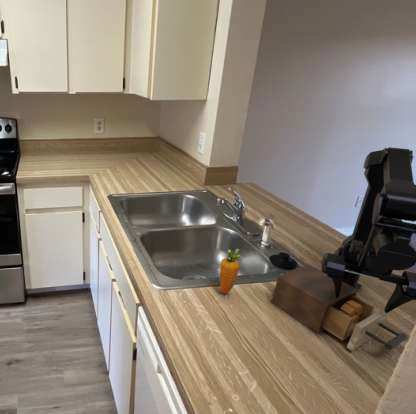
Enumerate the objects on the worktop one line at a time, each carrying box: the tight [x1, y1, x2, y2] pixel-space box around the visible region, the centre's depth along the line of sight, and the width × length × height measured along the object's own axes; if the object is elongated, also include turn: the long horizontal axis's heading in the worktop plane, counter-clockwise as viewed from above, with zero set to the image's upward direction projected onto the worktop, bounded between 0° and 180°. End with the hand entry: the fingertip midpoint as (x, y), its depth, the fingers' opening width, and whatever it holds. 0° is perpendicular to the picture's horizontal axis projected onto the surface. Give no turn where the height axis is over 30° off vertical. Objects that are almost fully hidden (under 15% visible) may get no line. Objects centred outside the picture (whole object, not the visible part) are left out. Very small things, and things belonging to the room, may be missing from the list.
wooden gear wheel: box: [340, 300, 363, 325], centre depth 80 cm, size 6×6×2 cm
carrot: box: [219, 248, 242, 295], centre depth 92 cm, size 5×5×15 cm
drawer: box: [322, 295, 408, 352], centre depth 78 cm, size 17×12×7 cm
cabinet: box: [270, 263, 359, 334], centre depth 87 cm, size 13×13×9 cm
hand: (360, 304), depth 77 cm, fingers open, 9 cm apart
